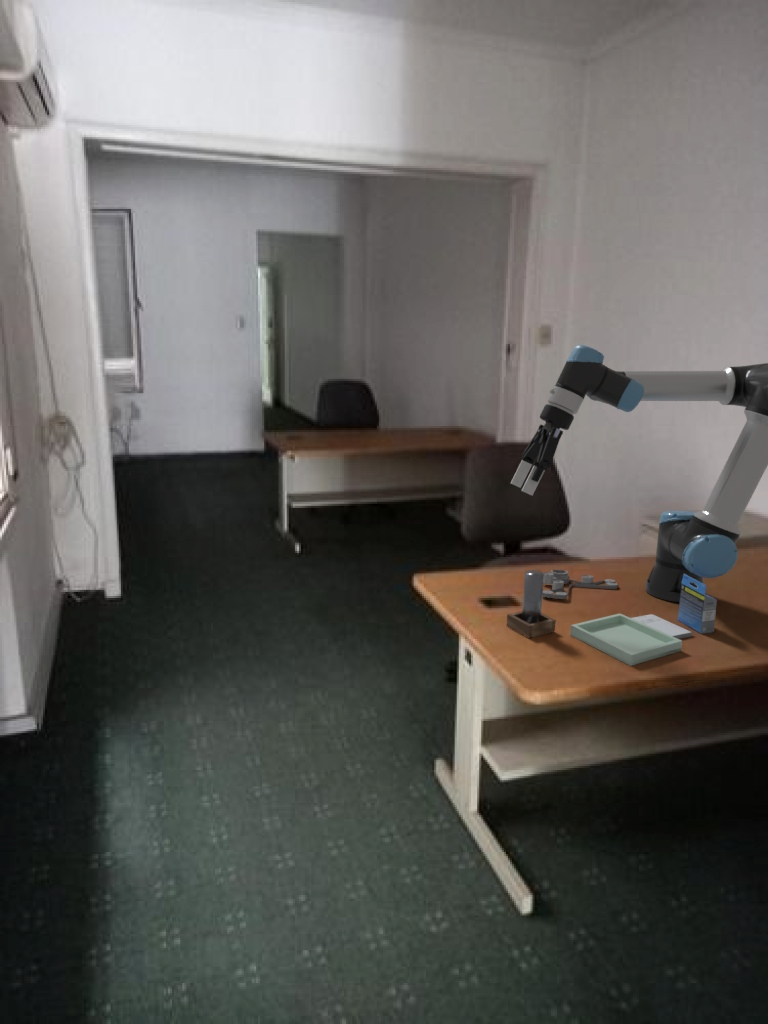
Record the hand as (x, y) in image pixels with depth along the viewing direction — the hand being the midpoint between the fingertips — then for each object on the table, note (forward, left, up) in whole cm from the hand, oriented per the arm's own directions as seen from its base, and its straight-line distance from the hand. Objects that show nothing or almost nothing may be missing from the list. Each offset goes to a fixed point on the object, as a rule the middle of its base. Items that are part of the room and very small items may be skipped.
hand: (520, 489), depth 170 cm
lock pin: (+4, +11, -32) cm, 34 cm away
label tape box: (-33, +28, -32) cm, 54 cm away
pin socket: (+4, +11, -32) cm, 34 cm away
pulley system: (-26, -7, -32) cm, 42 cm away
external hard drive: (-24, +25, -32) cm, 48 cm away
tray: (-10, +27, -32) cm, 43 cm away
